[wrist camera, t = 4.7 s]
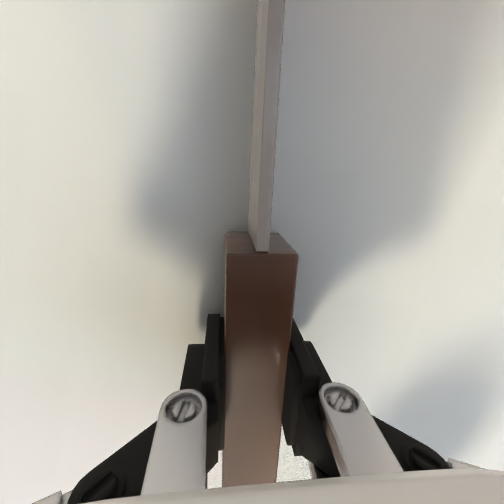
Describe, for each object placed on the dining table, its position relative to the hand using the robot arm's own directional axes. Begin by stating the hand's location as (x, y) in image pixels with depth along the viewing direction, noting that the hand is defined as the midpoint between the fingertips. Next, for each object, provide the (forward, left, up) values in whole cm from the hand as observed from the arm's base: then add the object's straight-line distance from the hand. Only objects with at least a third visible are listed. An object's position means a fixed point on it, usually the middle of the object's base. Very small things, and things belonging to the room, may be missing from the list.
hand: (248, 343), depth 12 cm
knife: (0, -4, 0) cm, 5 cm away
